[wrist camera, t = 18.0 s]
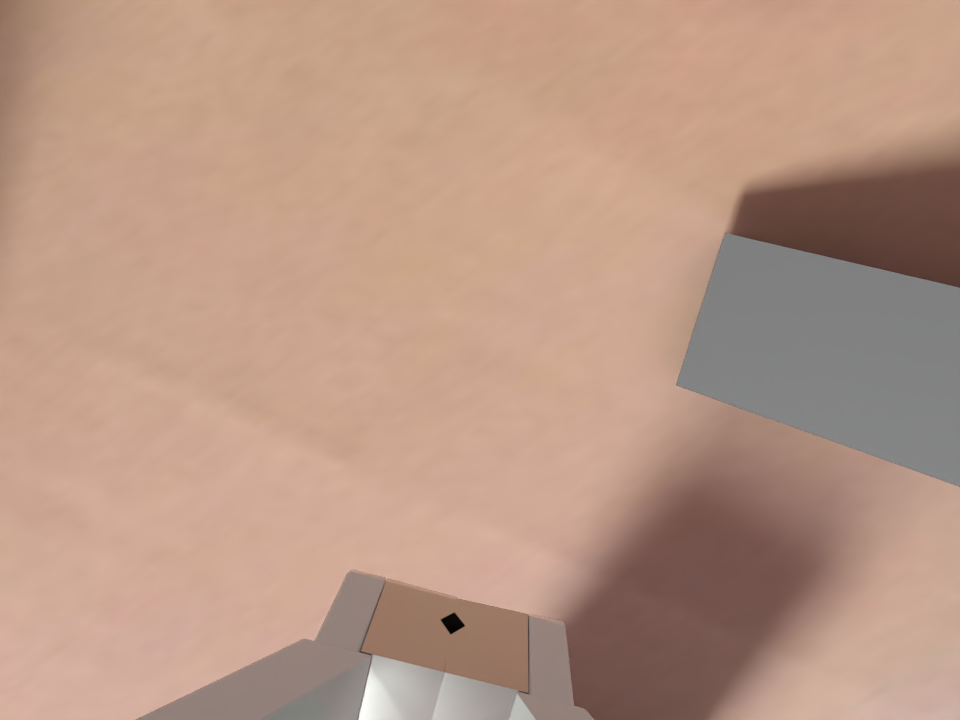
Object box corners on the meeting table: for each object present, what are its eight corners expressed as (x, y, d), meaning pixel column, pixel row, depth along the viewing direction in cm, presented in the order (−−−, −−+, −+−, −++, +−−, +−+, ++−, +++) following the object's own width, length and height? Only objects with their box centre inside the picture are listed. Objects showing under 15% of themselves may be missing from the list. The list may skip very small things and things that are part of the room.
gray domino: (676, 385, 22) (1054, 520, 17) (725, 232, 21) (1147, 331, 16) (689, 380, 23) (1043, 504, 18) (736, 236, 22) (1128, 328, 17)
